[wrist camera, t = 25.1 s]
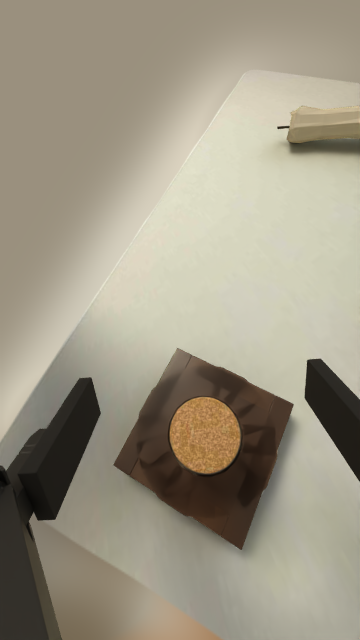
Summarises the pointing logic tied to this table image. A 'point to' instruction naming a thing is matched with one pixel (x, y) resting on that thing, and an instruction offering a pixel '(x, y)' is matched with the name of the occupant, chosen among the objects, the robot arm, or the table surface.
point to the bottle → (205, 435)
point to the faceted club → (323, 124)
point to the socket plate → (219, 488)
